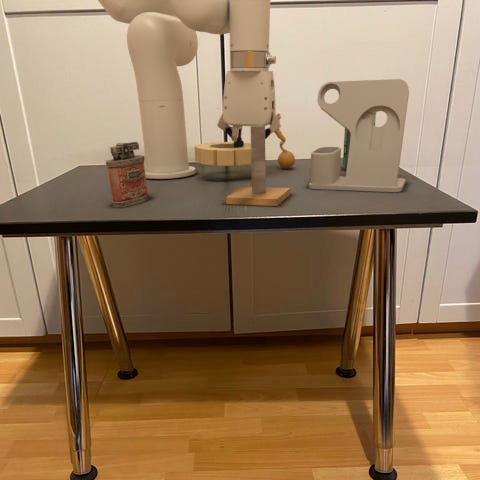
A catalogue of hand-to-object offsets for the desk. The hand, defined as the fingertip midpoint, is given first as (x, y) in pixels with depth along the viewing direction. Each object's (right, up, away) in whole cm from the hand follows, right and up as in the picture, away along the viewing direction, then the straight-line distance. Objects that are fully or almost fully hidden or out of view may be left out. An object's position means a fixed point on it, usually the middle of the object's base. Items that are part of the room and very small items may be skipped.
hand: (248, 160), depth 101 cm
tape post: (+2, -12, -17) cm, 21 cm away
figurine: (+8, +2, +11) cm, 14 cm away
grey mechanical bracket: (+21, -8, -9) cm, 24 cm away
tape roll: (-5, 0, +2) cm, 5 cm away
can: (+25, +1, +8) cm, 26 cm away
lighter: (-21, -13, -15) cm, 29 cm away
